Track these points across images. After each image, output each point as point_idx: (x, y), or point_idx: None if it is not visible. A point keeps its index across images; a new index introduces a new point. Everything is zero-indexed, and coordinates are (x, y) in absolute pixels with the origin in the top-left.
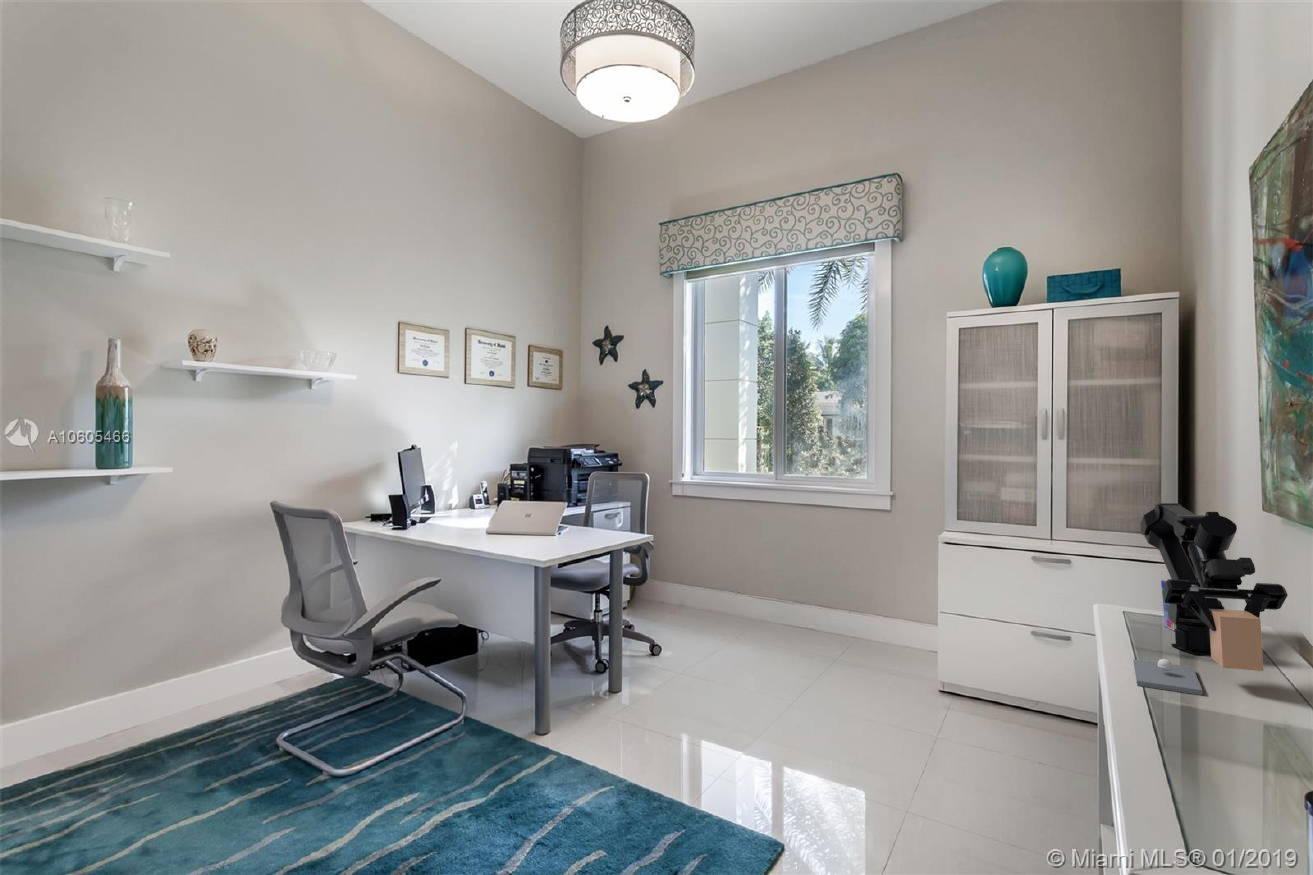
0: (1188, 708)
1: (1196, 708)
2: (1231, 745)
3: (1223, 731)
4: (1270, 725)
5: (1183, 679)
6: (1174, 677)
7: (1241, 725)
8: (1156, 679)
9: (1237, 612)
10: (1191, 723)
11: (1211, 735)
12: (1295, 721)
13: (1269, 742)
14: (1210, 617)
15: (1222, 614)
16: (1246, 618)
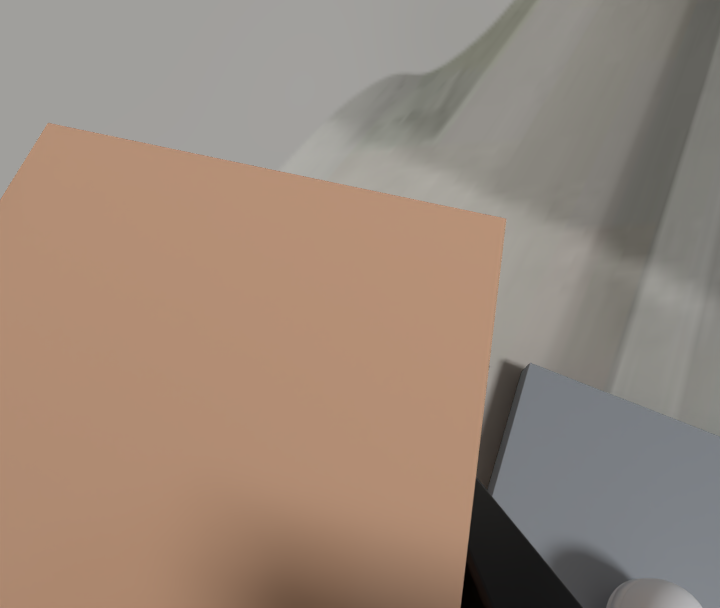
0: (629, 234)
1: (600, 237)
2: (599, 19)
3: (584, 84)
4: (419, 128)
5: (562, 519)
6: (599, 551)
7: (511, 122)
8: (704, 501)
9: (43, 496)
10: (658, 125)
11: (629, 62)
12: (313, 160)
13: (491, 37)
14: (484, 537)
15: (402, 341)
16: (198, 159)
